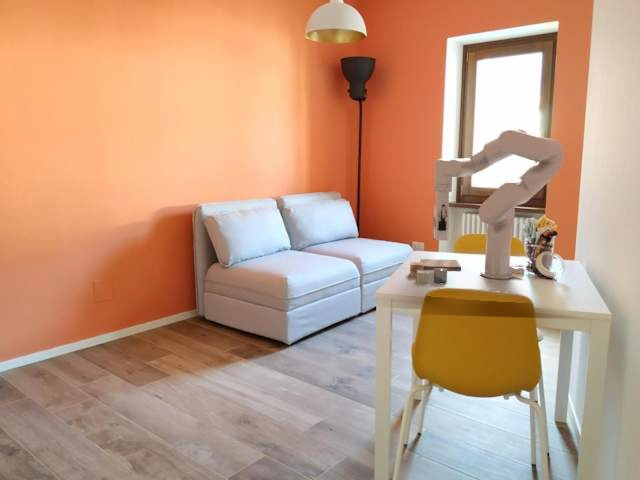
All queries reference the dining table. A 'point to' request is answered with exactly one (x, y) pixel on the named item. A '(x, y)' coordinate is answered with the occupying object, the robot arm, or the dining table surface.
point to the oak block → (415, 268)
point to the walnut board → (440, 264)
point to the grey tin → (440, 275)
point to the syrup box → (437, 234)
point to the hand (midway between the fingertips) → (441, 228)
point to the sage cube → (422, 276)
